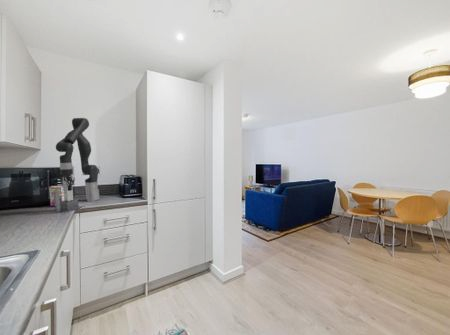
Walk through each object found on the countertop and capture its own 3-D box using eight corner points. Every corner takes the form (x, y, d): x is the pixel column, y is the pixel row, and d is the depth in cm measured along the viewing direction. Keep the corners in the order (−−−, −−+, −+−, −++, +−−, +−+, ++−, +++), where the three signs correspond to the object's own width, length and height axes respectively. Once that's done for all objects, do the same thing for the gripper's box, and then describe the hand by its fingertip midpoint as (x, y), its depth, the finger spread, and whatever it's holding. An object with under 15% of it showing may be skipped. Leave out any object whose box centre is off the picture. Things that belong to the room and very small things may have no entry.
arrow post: (62, 210, 149) (60, 190, 148) (64, 211, 148) (62, 190, 147) (55, 212, 145) (53, 191, 144) (57, 212, 144) (55, 191, 143)
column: (70, 199, 155) (69, 180, 154) (74, 199, 154) (72, 180, 153) (63, 201, 151) (62, 180, 149) (67, 201, 149) (65, 181, 148)
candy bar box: (49, 206, 163) (48, 187, 162) (55, 204, 168) (54, 185, 167) (62, 206, 162) (60, 187, 161) (67, 204, 167) (66, 186, 166)
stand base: (73, 206, 162) (72, 198, 161) (84, 207, 157) (84, 199, 157) (53, 211, 149) (52, 202, 148) (65, 212, 144) (64, 203, 143)
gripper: (77, 168, 152) (79, 190, 153) (65, 168, 156) (67, 189, 158) (67, 169, 144) (69, 191, 146) (54, 168, 149) (56, 190, 151)
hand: (68, 190), depth 152 cm, fingers closed on column, 4 cm apart
